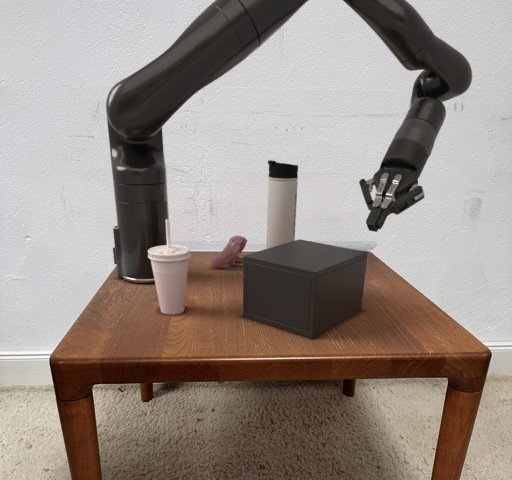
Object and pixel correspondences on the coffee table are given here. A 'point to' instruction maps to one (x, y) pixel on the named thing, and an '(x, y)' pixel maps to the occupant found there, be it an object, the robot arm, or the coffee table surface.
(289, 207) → the travel mug
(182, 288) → the smoothie
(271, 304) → the dark grey lidded box
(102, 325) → the coffee table surface
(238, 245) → the pink rounded figure
